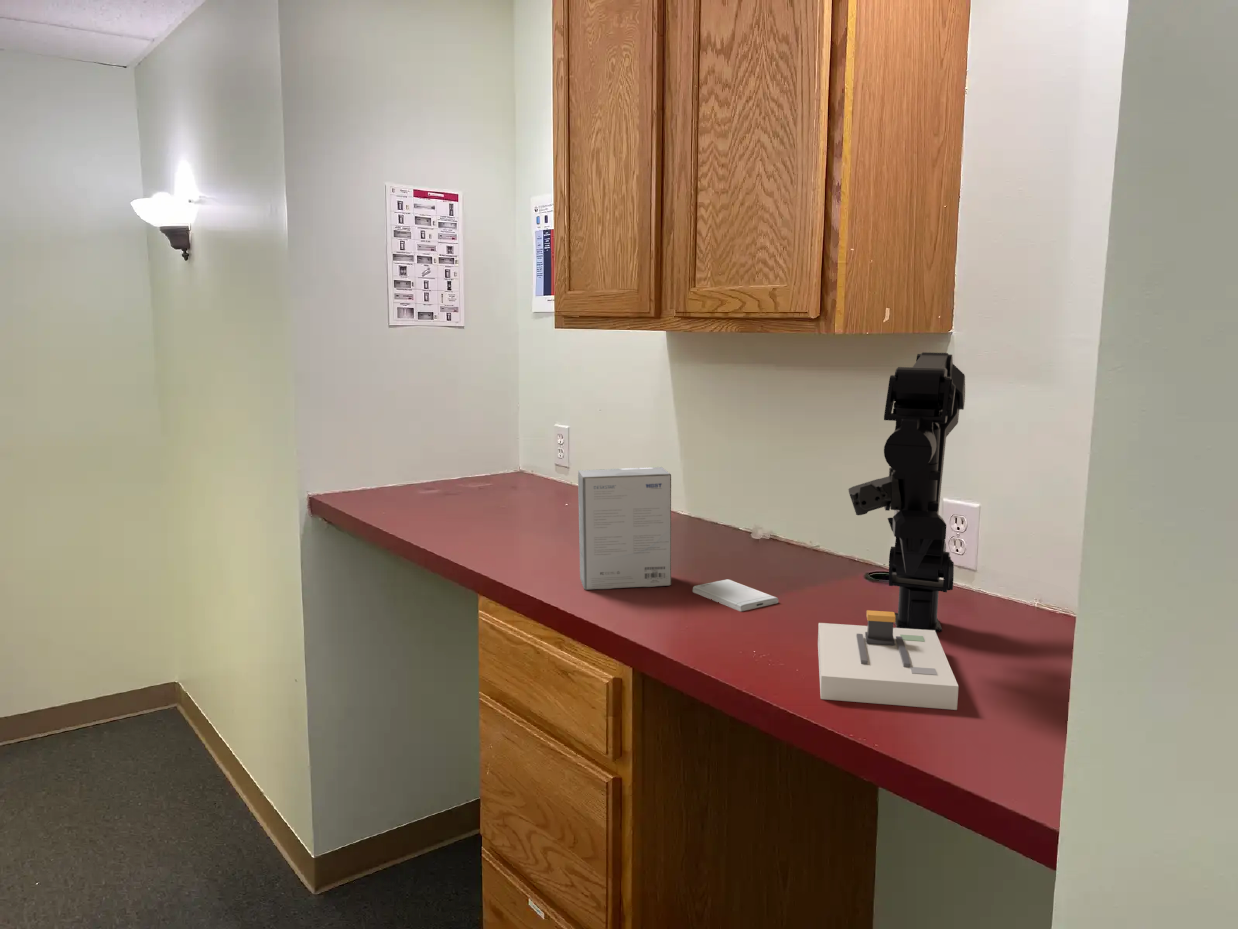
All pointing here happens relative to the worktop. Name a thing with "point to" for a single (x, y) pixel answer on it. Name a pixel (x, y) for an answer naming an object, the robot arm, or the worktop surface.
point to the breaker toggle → (880, 627)
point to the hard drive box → (625, 527)
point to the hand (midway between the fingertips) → (909, 574)
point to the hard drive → (734, 595)
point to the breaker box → (885, 668)
